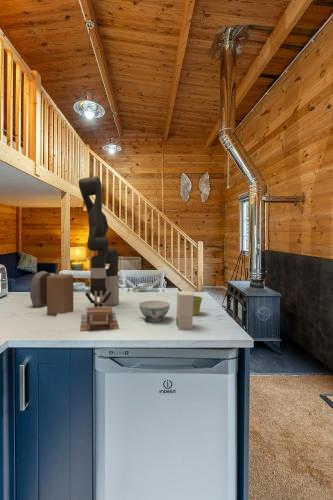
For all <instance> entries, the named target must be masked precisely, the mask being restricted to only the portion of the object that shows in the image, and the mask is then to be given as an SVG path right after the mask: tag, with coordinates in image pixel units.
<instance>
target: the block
mask: <svg viewBox="0 0 333 500" xmlns="http://www.w3.org/2000/svg"><path fill="white" fill-rule="evenodd" d="M72 312H74V275H73V274H71V273H70V274H66V273H55V274H51V275H50V276H47V305H46V314H47V315H48V316H49V315H50V316H57V315H58V314H66V313H72Z"/></svg>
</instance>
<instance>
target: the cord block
mask: <svg viewBox="0 0 333 500" xmlns="http://www.w3.org/2000/svg"><path fill="white" fill-rule="evenodd" d="M99 303H100V301H97V307H100V305H99ZM103 320H106V314H96V315H92V321H103Z"/></svg>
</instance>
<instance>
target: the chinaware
mask: <svg viewBox="0 0 333 500" xmlns="http://www.w3.org/2000/svg"><path fill="white" fill-rule="evenodd" d="M138 306H139V310H140V312H141V314H142V315H143V316H144V317H145V318H146V319H147V321H148V320H149V321H148V322H160V321H162V318H164V317H165V316H166V315H167V314H168V312H169V310H170V307H171V303H170V302H168V301H163V300H145V301H142V302H139V303H138ZM159 320H160V321H159Z"/></svg>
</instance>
